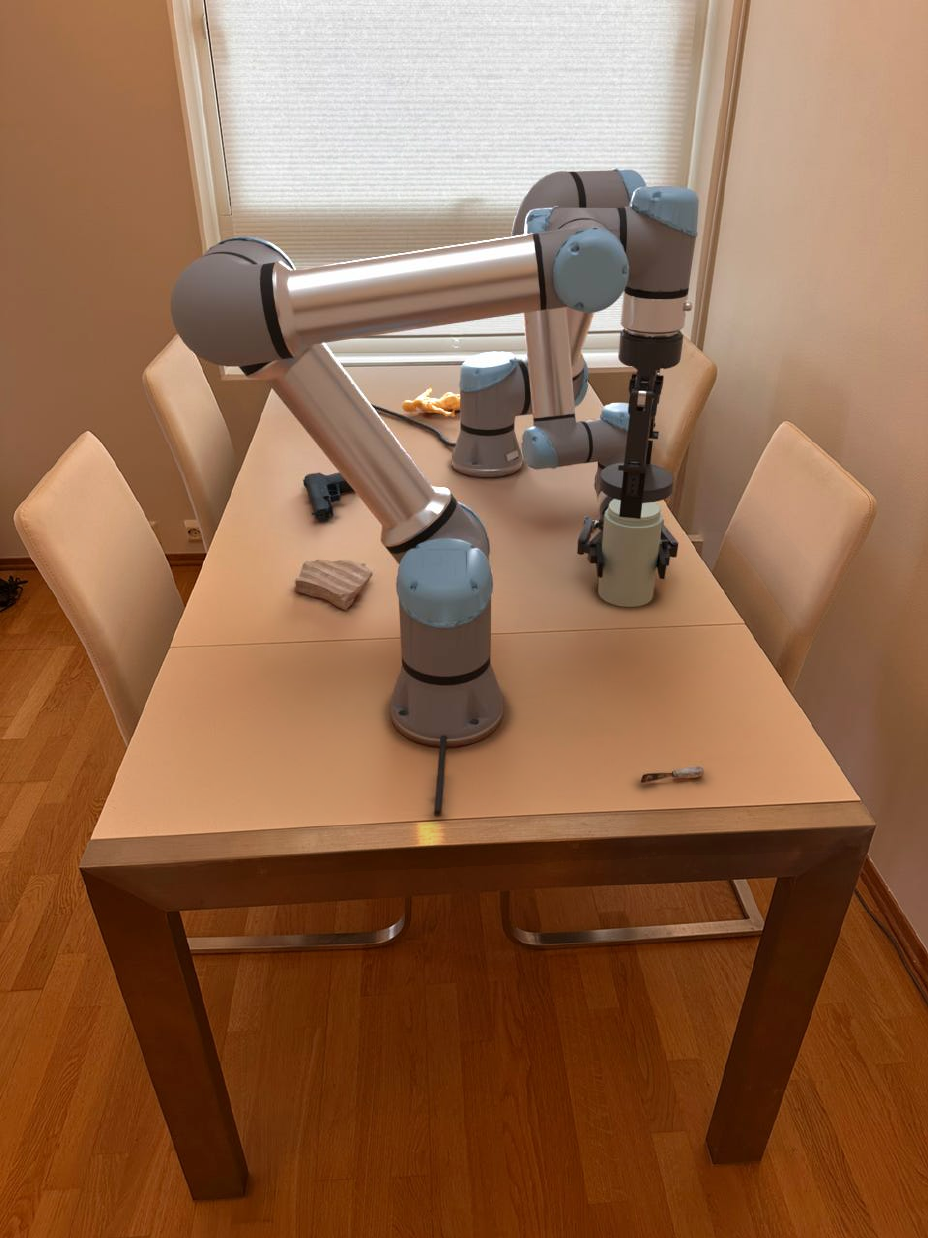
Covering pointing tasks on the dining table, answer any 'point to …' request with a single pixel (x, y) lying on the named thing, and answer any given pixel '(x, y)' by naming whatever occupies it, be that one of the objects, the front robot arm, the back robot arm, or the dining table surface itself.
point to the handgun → (325, 492)
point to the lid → (654, 487)
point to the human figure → (434, 403)
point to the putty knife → (674, 774)
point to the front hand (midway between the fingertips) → (634, 500)
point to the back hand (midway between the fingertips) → (631, 570)
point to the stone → (333, 580)
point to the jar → (630, 555)
